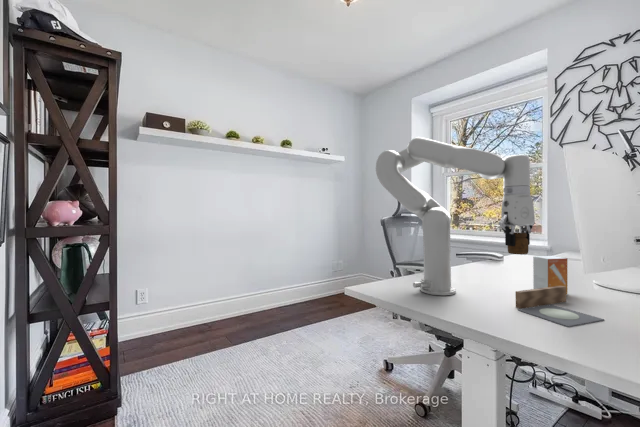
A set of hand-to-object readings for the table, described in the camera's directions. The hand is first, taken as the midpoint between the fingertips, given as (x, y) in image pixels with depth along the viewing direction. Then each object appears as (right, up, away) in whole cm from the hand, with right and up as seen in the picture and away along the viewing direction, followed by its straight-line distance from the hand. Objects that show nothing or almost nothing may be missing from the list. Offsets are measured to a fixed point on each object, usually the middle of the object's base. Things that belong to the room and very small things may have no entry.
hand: (517, 244), depth 101 cm
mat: (+1, -19, -16) cm, 24 cm away
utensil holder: (0, -3, 0) cm, 3 cm away
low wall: (+4, -18, -6) cm, 20 cm away
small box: (+16, -18, +7) cm, 26 cm away
